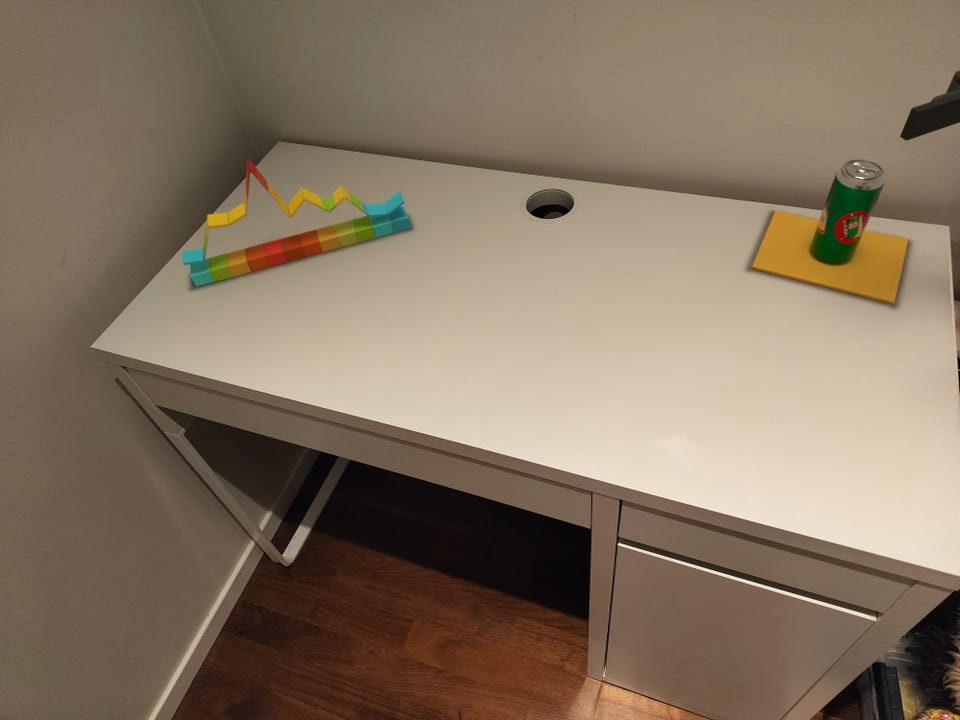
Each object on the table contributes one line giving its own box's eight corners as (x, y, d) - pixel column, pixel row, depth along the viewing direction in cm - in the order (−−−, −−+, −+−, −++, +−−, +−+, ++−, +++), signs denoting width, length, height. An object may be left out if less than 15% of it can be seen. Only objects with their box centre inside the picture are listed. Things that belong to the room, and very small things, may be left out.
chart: (405, 215, 98) (384, 121, 86) (410, 228, 96) (389, 133, 84) (195, 272, 94) (144, 181, 82) (196, 287, 92) (144, 195, 80)
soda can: (816, 234, 86) (846, 152, 77) (858, 247, 84) (894, 163, 75) (803, 257, 83) (832, 175, 74) (845, 271, 81) (881, 188, 72)
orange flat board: (907, 241, 84) (908, 239, 84) (893, 304, 78) (894, 302, 77) (774, 212, 90) (775, 210, 90) (751, 268, 84) (752, 266, 83)
